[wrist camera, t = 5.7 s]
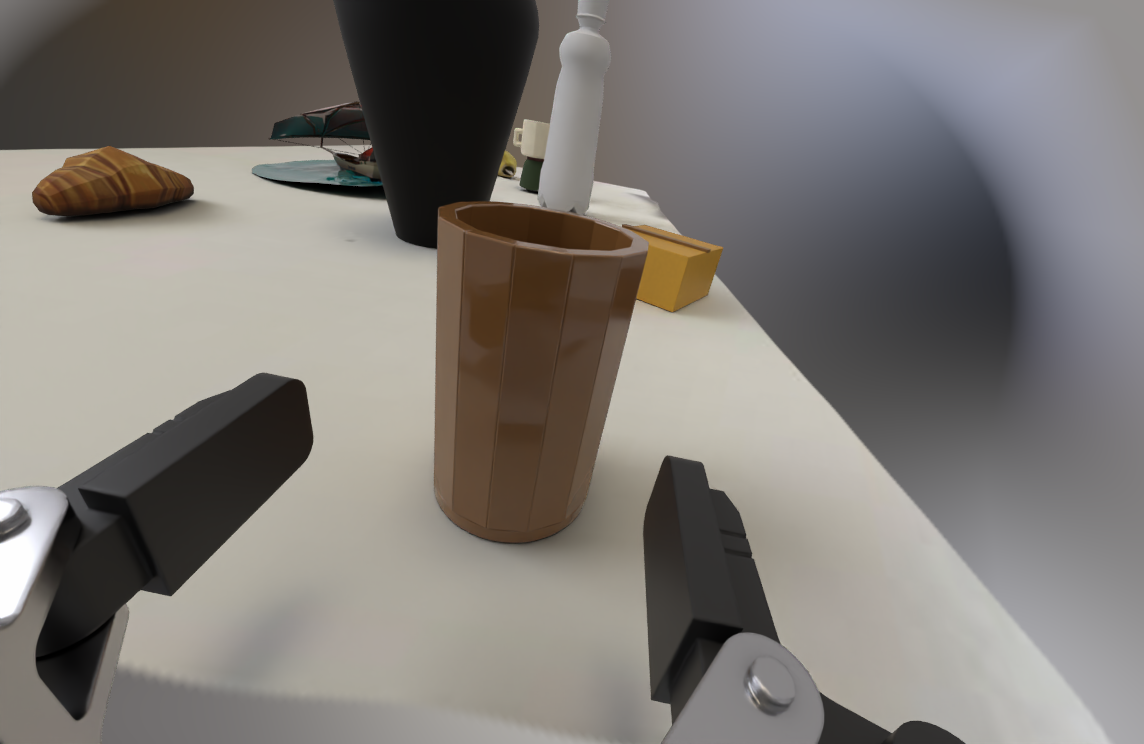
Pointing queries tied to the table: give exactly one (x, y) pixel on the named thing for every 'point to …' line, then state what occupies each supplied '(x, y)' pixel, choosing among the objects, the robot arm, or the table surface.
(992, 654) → the table surface
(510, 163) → the fruit
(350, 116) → the boat on round base
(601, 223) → the cup
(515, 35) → the vase
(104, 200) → the croissant
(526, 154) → the character mug
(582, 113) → the bottle
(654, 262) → the box
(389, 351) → the table surface
